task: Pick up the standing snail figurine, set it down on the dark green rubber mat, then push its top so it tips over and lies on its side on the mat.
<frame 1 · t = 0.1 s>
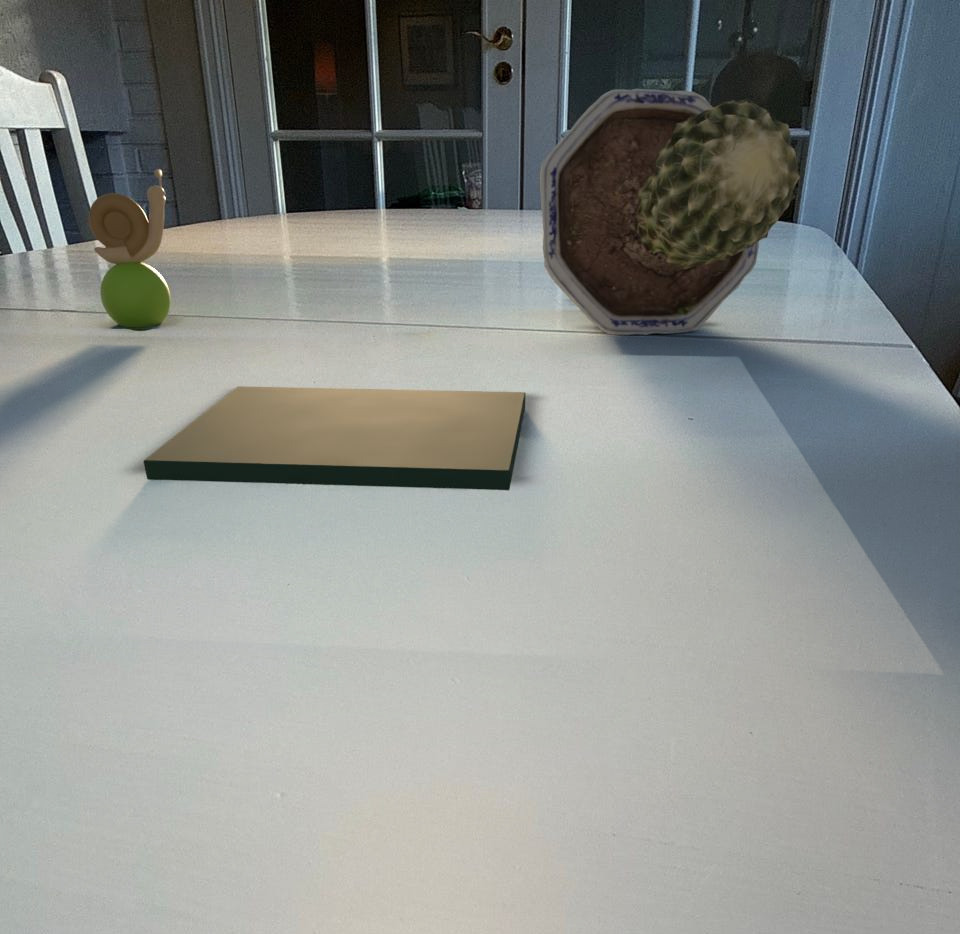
potted plant: (650, 337, 73), on the table
mat: (355, 440, 50), on the table
snail figurine: (148, 332, 76), on the table
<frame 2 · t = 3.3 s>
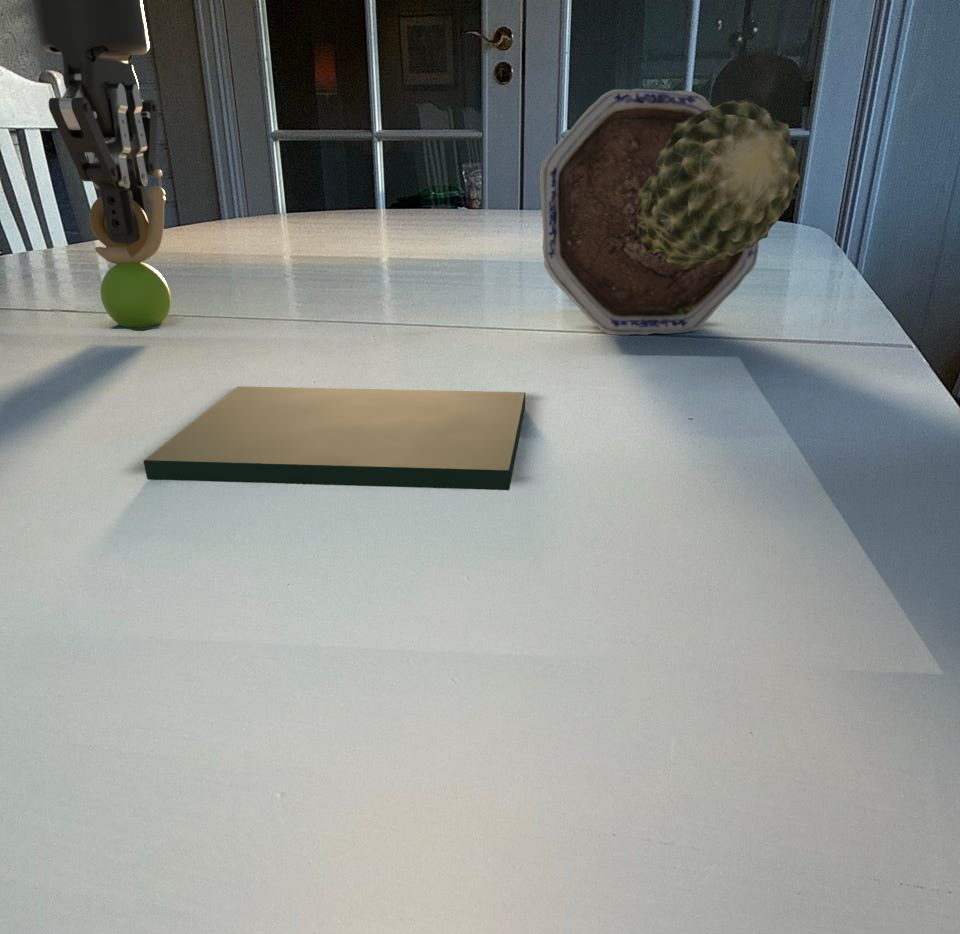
hand: (131, 239, 72), 7 cm above the table, tool pointing down, fingers closed on snail figurine
snail figurine: (149, 332, 76), on the table, touching gripper
everything else where it was.
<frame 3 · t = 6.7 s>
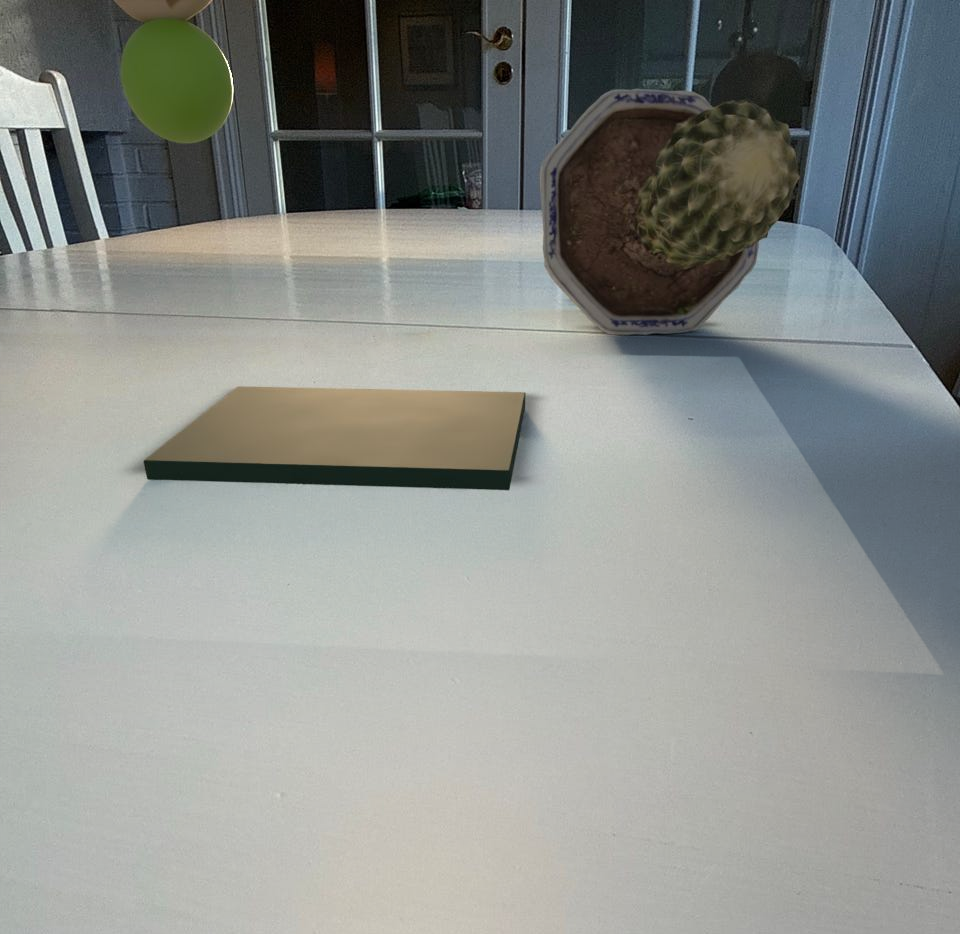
snail figurine: (197, 147, 47), point 14 cm above the table, touching gripper
everything else where it was.
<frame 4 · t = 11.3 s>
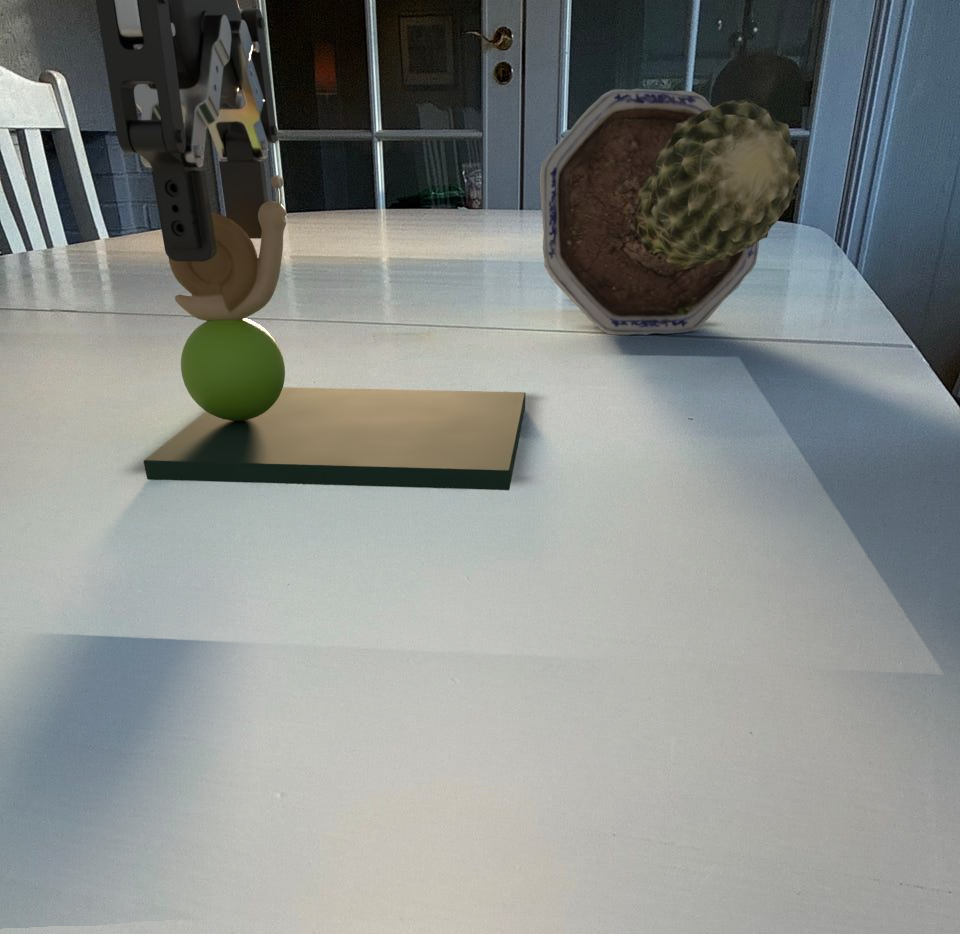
hand: (223, 248, 45), 10 cm above the table, tool pointing down, fingers open, 8 cm apart
snail figurine: (250, 422, 50), point 1 cm above the table, touching mat
everything else where it was.
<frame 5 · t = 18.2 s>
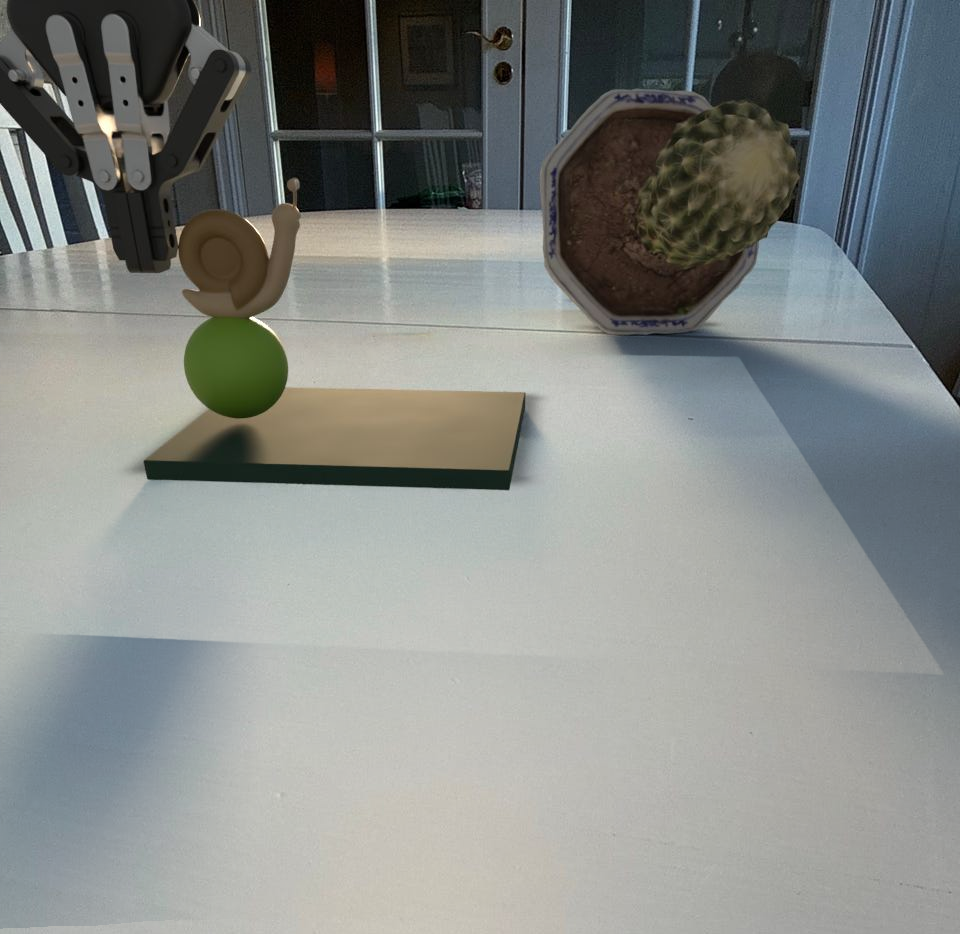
hand: (149, 270, 46), 9 cm above the table, tool pointing down, fingers closed
snail figurine: (249, 420, 50), point 1 cm above the table, touching gripper, mat
everything else where it was.
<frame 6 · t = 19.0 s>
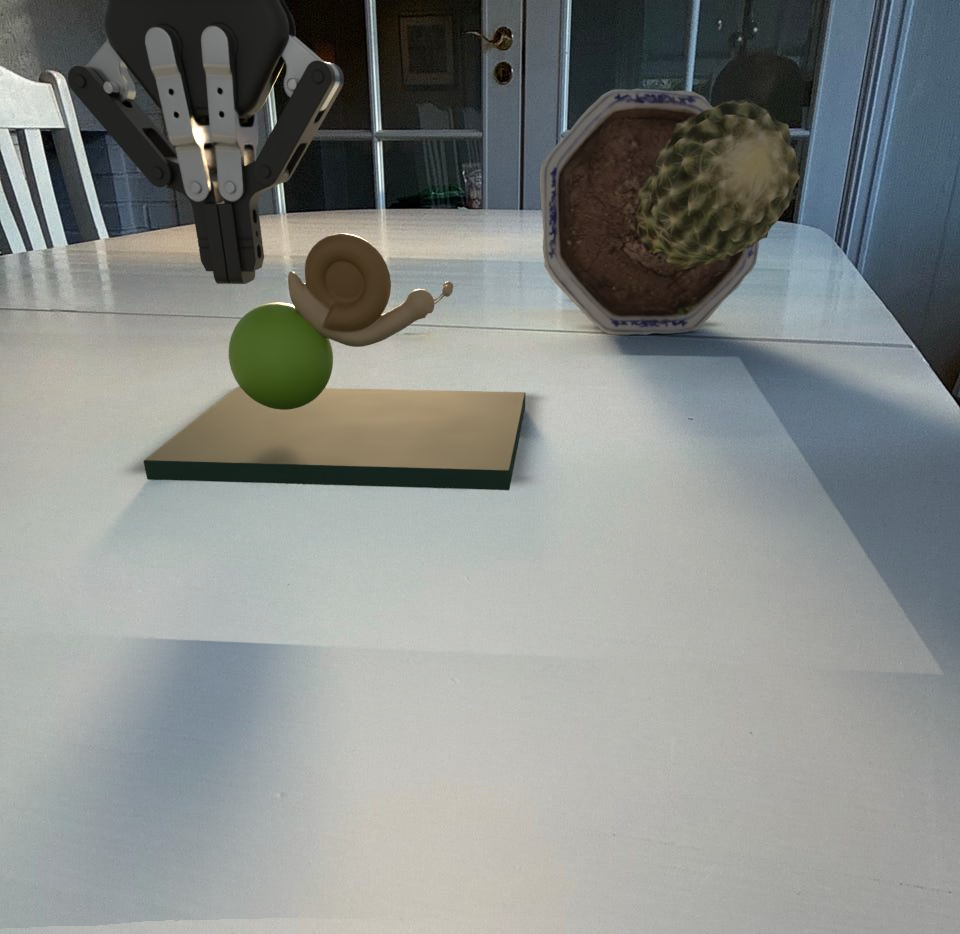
hand: (235, 281, 46), 8 cm above the table, tool pointing down, fingers closed
snail figurine: (254, 398, 49), point 2 cm above the table, touching mat
everything else where it was.
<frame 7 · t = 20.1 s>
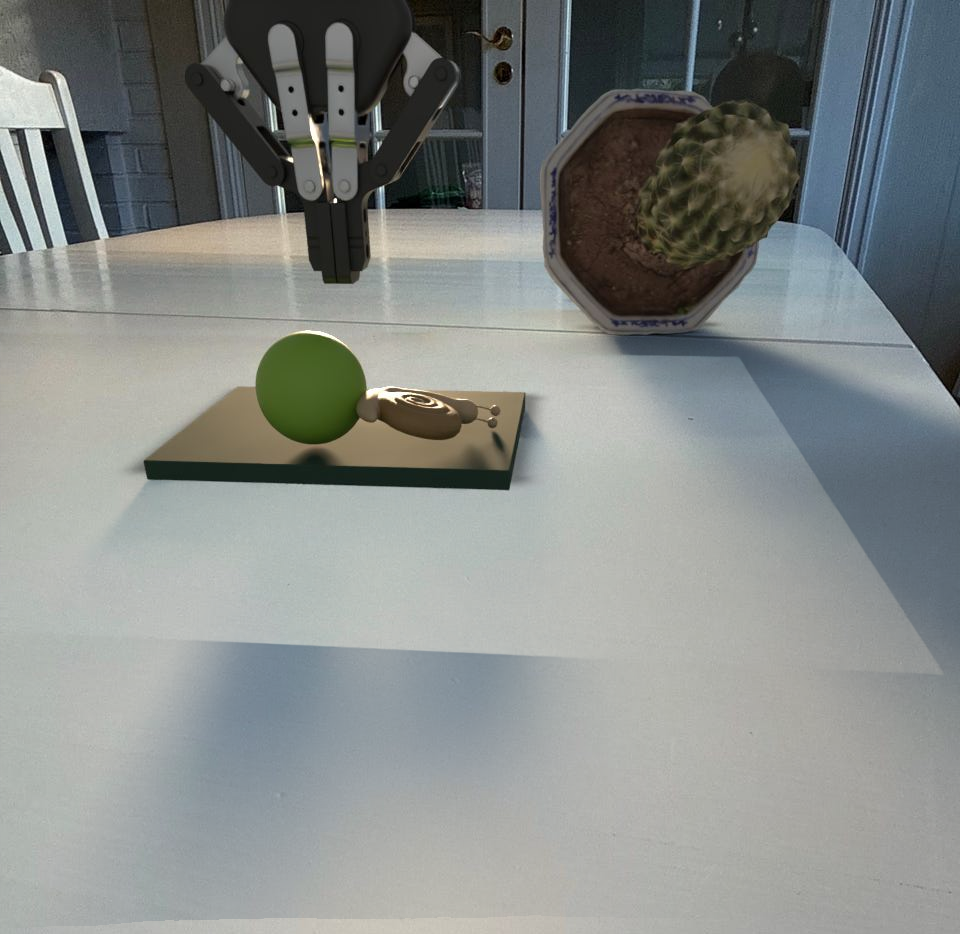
hand: (341, 281, 45), 8 cm above the table, tool pointing down, fingers closed
snail figurine: (257, 372, 45), point 4 cm above the table, touching mat
everything else where it was.
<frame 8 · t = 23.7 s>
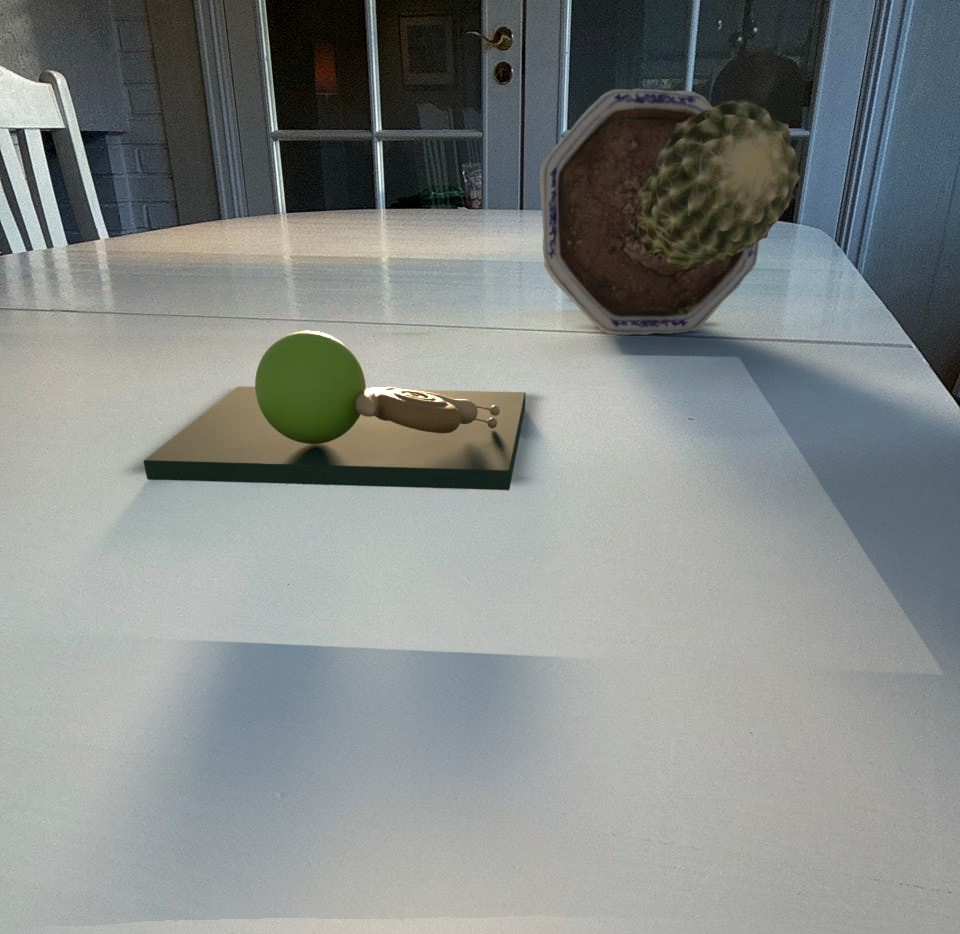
nothing on the table moved.
at the end: snail figurine tilted 101°; snail figurine inside the target area on the mat (5.0 cm from its centre), point 4.2 cm above the mat's base; snail figurine moved 37.1 cm from its start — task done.
